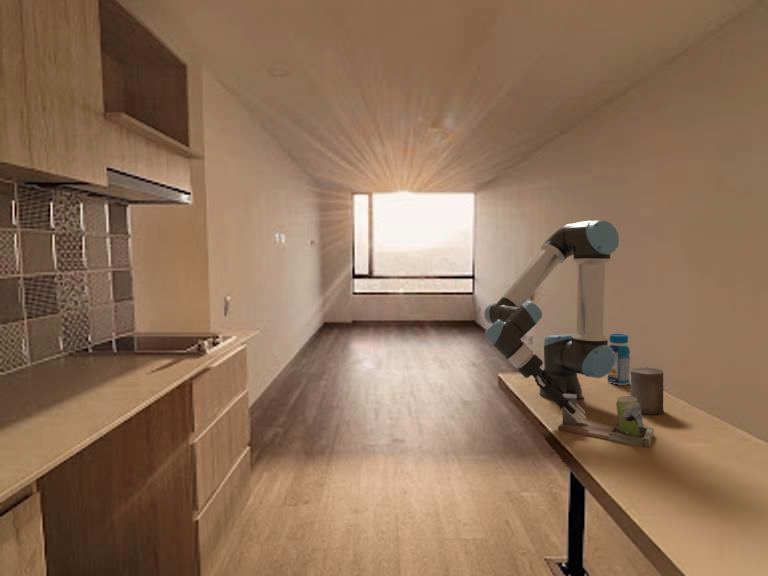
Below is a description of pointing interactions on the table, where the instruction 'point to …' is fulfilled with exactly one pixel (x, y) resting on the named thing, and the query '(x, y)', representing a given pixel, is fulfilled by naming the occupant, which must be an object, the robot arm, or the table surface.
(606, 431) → the pull strip
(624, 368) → the beverage bottle
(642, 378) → the pillar candle
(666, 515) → the table surface
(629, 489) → the table surface
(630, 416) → the beverage can
